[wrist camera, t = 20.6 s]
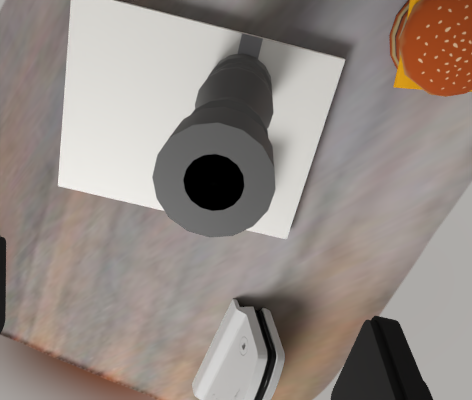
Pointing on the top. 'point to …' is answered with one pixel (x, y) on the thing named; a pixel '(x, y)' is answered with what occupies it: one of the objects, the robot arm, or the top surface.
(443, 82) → the hamburger
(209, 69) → the white rectangular board
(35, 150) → the top surface
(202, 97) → the candle holder
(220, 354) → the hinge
